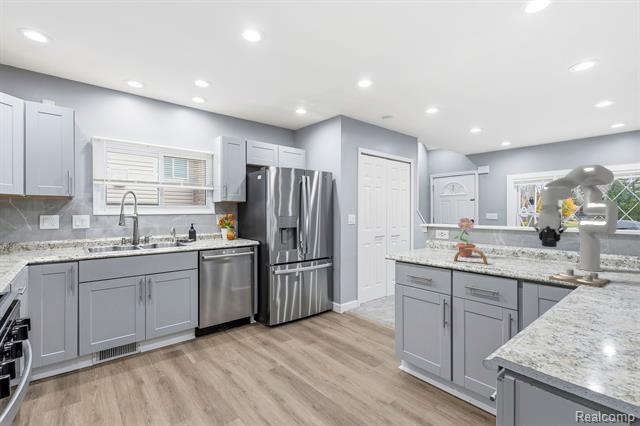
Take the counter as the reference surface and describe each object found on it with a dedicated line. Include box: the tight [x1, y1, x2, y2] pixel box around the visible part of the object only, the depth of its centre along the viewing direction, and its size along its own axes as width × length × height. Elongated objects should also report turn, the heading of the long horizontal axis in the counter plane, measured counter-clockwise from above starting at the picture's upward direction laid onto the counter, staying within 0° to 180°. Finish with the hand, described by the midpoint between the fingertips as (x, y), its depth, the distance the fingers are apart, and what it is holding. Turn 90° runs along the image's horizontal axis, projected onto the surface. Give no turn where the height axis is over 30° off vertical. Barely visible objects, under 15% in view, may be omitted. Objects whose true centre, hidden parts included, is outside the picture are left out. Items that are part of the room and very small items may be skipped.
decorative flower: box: [454, 217, 476, 258], centre depth 235 cm, size 15×14×30 cm
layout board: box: [548, 268, 611, 288], centre depth 157 cm, size 19×20×4 cm
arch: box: [453, 247, 488, 265], centre depth 209 cm, size 6×20×10 cm, turn 51°
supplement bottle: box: [541, 225, 558, 248], centre depth 168 cm, size 7×7×12 cm
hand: (549, 240), depth 168 cm, fingers closed on supplement bottle, 6 cm apart
